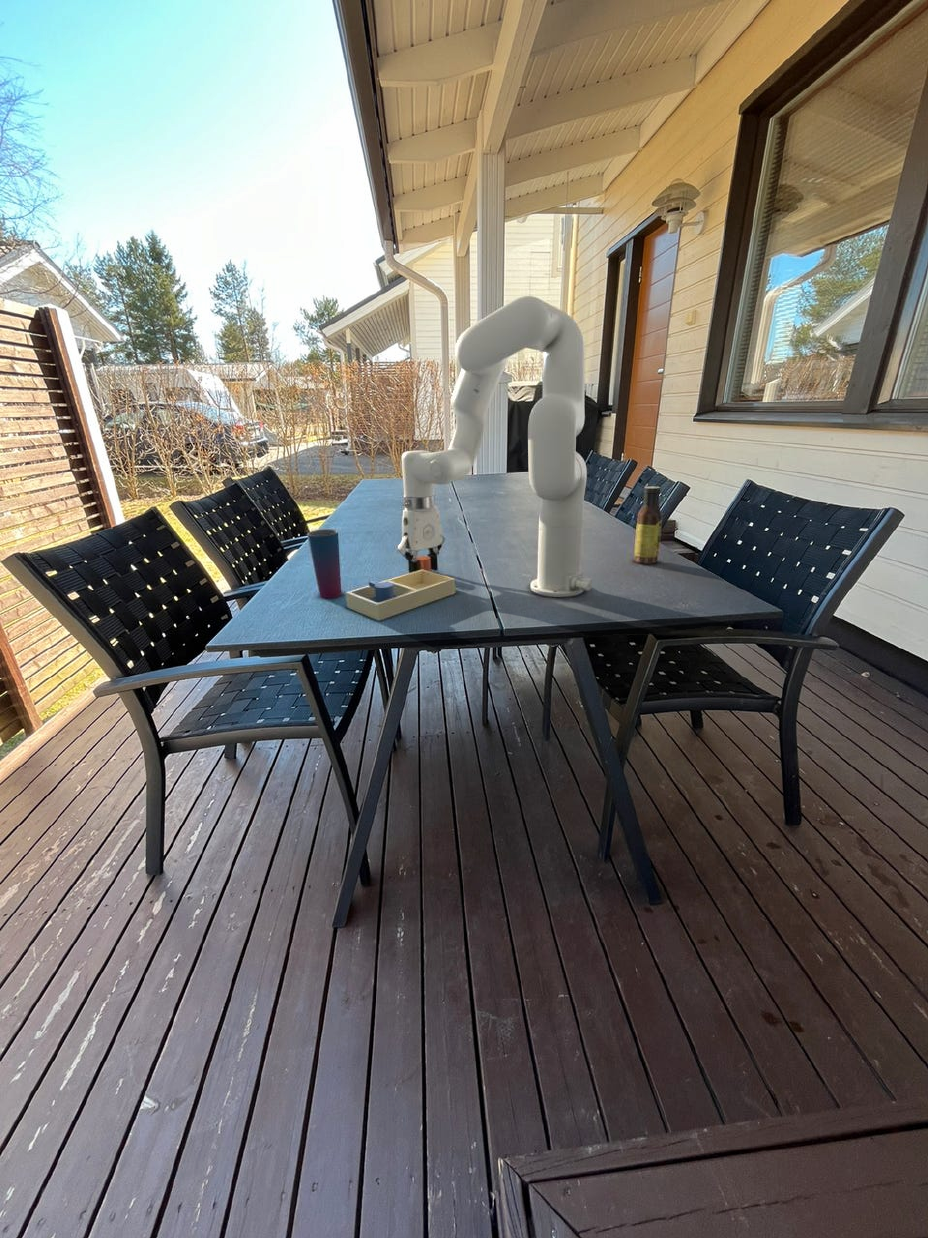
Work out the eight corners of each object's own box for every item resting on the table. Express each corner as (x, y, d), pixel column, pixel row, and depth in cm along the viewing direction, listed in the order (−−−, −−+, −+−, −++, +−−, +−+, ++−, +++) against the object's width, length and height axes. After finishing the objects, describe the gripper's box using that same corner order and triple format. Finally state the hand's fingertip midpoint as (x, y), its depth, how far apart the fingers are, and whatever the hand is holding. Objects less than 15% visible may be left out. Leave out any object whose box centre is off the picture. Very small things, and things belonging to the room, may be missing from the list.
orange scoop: (434, 574, 137) (433, 557, 136) (423, 577, 135) (422, 560, 133) (417, 569, 142) (416, 553, 140) (406, 572, 139) (405, 556, 137)
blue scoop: (398, 603, 115) (396, 584, 114) (383, 608, 113) (382, 589, 111) (379, 597, 120) (377, 578, 118) (365, 601, 117) (363, 582, 115)
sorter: (455, 593, 123) (455, 578, 122) (378, 620, 109) (377, 604, 107) (423, 583, 131) (422, 569, 129) (347, 607, 116) (345, 592, 115)
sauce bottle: (660, 564, 140) (670, 488, 132) (637, 565, 140) (645, 489, 133) (653, 558, 146) (661, 485, 138) (630, 558, 146) (637, 485, 139)
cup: (338, 600, 121) (330, 536, 115) (310, 599, 122) (301, 535, 116) (349, 590, 127) (342, 529, 121) (323, 589, 128) (315, 528, 122)
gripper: (402, 509, 122) (407, 583, 129) (455, 499, 133) (457, 567, 140) (382, 506, 127) (388, 577, 134) (435, 496, 138) (438, 562, 145)
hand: (423, 571), depth 137 cm, fingers open, 5 cm apart
